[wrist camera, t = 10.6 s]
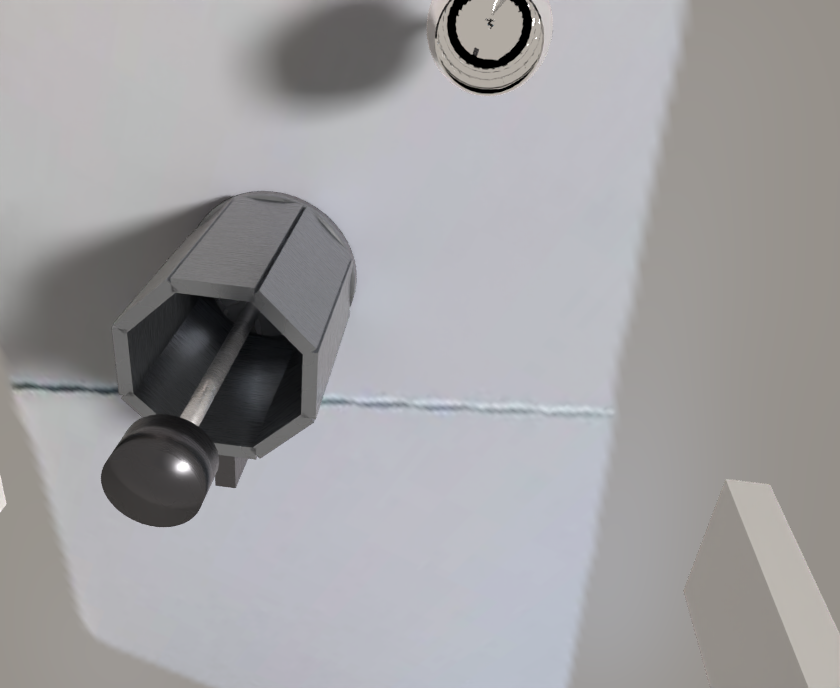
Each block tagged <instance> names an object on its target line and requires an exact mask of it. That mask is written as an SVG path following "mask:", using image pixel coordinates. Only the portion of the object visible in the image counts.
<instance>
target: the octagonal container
mask: <svg viewBox="0 0 840 688" xmlns="http://www.w3.org/2000/svg"><path fill="white" fill-rule="evenodd" d="M355 288H356V266H355V260H354V257H353V254H352V251H351V248H350V246H349V244H348V242H347V240H346V238H345V237H344V235H343V233H342V232H341V231H340V229H339V228H338V227H337V226H336V224H335V223H334V222H333V221H332V220H331V219H330V218H329V217H328V216H327V215H326V214H324V213H323V212H322V211H320V210H319V209H318V208H316V207H315V206H313V205H311V204H310V203H308V202H306V201H304V200H301V199H299V198H297V197H294V196H291V195H288V194H284V193H278V192H270V191H257V192H249V193H244V194H240V195H237V196H234V197H231V198H229V199H227V200H226V201H224V202H222V203H220V204H219V205H218V206H216V207H215V208H214V209H213V210H212V211H211V212H210V213H209V214H208V215H207V216H206V217H205V218H204V219H203V220H202V221H201V223H200V224H199V226H198V227H197V228H196V230H195V231H194V232H192V233H191V234H190V235H189V236H188V237H187V238H186V239H185V241H184V242H183V243H182V244H181V245H180V246H179V248H178V249H177V250H176V251H175V252H174V253H173V255H172V256H171V257H170V258H169V259H168V260H167V262H166V263H165V264H164V265H163V266H162V267H161V269H160V270H159V271H158V272H157V273H156V274H155V275H154V277H153V278H152V279H151V280H150V281H149V282H148V284H147V285H146V286H145V287H144V288H143V289H142V291H141V292H140V293H139V294H138V295H137V296H136V298H135V299H134V300H133V301H132V302H131V303H130V304H129V306H128V307H127V308H126V309H125V310H124V311H123V313H122V314H121V315H120V316H119V317H118V318H117V320H116V321H115V322H114V323H113V324H114V325H113V326H112V327H111V328H112V337H113V346H114V355H115V363H116V372H117V381H118V390H119V395H123V397H122V398H121V399H122V400H124V401H125V402H126V403H127V404H128V405H129V406H130V407H132V408H133V409H134V410H135V411H136V412H137V413H138V414H140V415H141V416H142V417H146V416H149V415H155V414H166V415H173V416H177V417H180V416H181V414H182V413H183V411H184V409H185V407H186V406H187V404H188V402H189V401H190V399H191V397H192V395H193V394H194V392H195V390H196V389H197V387H198V385H199V383H200V382H201V380H202V378H203V377H204V375H205V373H206V371H207V370H208V368H209V366H210V365H211V363H212V361H213V359H214V358H215V356H216V354H217V353H218V351H219V349H220V347H221V346H222V344H223V342H224V341H225V339H226V337H227V335H228V334H229V332H230V330H231V329H232V327H233V325H234V324H235V323H234V322H232V321H231V320H230V319H229V318H228V317H227V316H226V315H225V314H224V313H223V312H222V311H221V309H220V308H219V307H218V305H217V303H216V301H215V299H214V298H223V299H231V300H239V301H247V302H251V303H252V304H253V305H254V306H255V307H256V308H257V309H258V310H259V311H260V312H261V313H262V314H263V315H264V316H265V317H266V318H267V319H268V320H269V321H270V322H271V323H272V324H273V325H274V326H275V327H276V328H277V329H278V330H279V331H280V332H281V333H282V334H283V335H277V336H268V335H261V334H256V333H253V332H249V334H248V336H247V338H246V340H245V342H244V344H243V345H242V347H241V349H240V351H239V353H238V355H237V357H236V358H235V360H234V362H233V364H232V366H231V368H230V370H229V371H228V373H227V375H226V377H225V379H224V381H223V383H222V384H221V386H220V388H219V390H218V392H217V394H216V396H215V397H214V399H213V401H212V403H211V405H210V407H209V409H208V410H207V412H206V414H205V416H204V418H203V420H202V422H201V423H200V425H199V427H200V428H201V429H202V430H203V431H204V432H205V433H206V434H207V435H208V436H209V437H210V438H211V439H212V441H213V443H214V444H215V446H216V449H217V451H218V455H219V466H218V470H217V473H216V475H215V481H216V486H223V487H231V488H236V486H237V484H238V481H239V479H240V476H241V474H242V472H243V469H244V467H245V465H246V462H247V460H248V459H256V458H257V456H258V457H259V458H262V457H263V456H265V455H266V454H268V453H269V452H271V451H272V450H274V449H275V448H277V447H278V446H280V445H281V444H283V443H284V442H286V441H287V440H288V439H290V438H291V437H293V436H294V435H296V434H297V433H299V432H300V431H302V430H303V429H305V428H306V427H308V426H309V425H311V424H312V423H314V420H315V419H316V417H317V414H318V411H319V408H320V405H321V401H322V398H323V395H324V392H325V389H326V386H327V383H328V380H329V377H330V374H331V371H332V368H333V365H334V362H335V359H336V356H337V352H338V349H339V346H340V343H341V340H342V337H343V334H344V331H345V328H346V325H347V322H348V319H349V316H350V306H351V303H352V300H353V297H354V293H355Z"/></svg>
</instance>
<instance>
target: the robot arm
mask: <svg viewBox="0 0 840 688" xmlns="http://www.w3.org/2000/svg"><path fill="white" fill-rule="evenodd" d="M5 505H6V499H5V495H4V490H3V486H2V481H1V476H0V512H1V511H2V509H3V508H4V507H5ZM684 595H685V598H686V602H687V605H688V609H689V612H690V616H691V620H692V624H693V627H694V631H695V635H696V638H697V642H698V645H699V649H700V653H701V656H702V660H703V664H704V667H705V671H706V675H707V678H708V681H709V685H710V688H840V634H839V632H838V629H837V627H836V625H835V623H834V621H833V619H832V617H831V614H830V612H829V610H828V608H827V606H826V604H825V602H824V599H823V597H822V595H821V593H820V591H819V589H818V587H817V584H816V582H815V580H814V578H813V576H812V574H811V572H810V570H809V568H808V565H807V563H806V561H805V559H804V557H803V555H802V552H801V550H800V548H799V546H798V544H797V542H796V540H795V537H794V536H793V533H792V531H791V529H790V527H789V525H788V523H787V521H786V518H785V516H784V514H783V512H782V510H781V507H780V505H779V503H778V501H777V499H776V497H775V495H774V493H773V490H772V488H771V486H770V484H761V483H754V482H746V481H738V480H730V479H725V482H724V484H723V487H722V490H721V492H720V495H719V498H718V500H717V503H716V506H715V509H714V511H713V514H712V516H711V519H710V522H709V524H708V527H707V530H706V532H705V535H704V538H703V541H702V543H701V545H700V548H699V551H698V554H697V556H696V559H695V561H694V564H693V567H692V569H691V572H690V575H689V577H688V580H687V582H686V585H685V588H684Z"/></svg>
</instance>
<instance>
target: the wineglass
mask: <svg viewBox="0 0 840 688" xmlns="http://www.w3.org/2000/svg"><path fill="white" fill-rule="evenodd" d="M552 30H553V18H552V10H551V6H550V2H549V0H432V1H431V4H430V8H429V12H428V16H427V34H426V35H427V40H428V46H429V50H430V53H431V55H432V58H433V61H434V63H435V64H436V66H437V67H438V69H439V71H440V72H441V73H442V74H443V75H444V77H445V78H446V79H447V80H448V81H449V82H450V83H451V84H453V85H454V86H456V87H457V88H459V89H460V90H462V91H465V92H467V93H470V94H473V95H478V96H498V95H503V94H506V93H509V92H511V91H513V90H515V89H517V88H519V87H520V86H522V85H523V84H525V83H526V82H527V81H528V80H529V79H530V78H531V77H532V76H533V75H534V74H535V73H536V72H537V71H538V69H539V67H540V66H541V64H542V63H543V61H544V59H545V57H546V55H547V53H548V50H549V46H550V43H551V40H552Z"/></svg>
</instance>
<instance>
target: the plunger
mask: <svg viewBox="0 0 840 688" xmlns="http://www.w3.org/2000/svg"><path fill="white" fill-rule="evenodd" d="M214 299H215V301H216V303H217V305H218V307H219V308H220V309H221V311H222V312H223V313H224V314H225V315H226V316H227V317H228V318H229V319H230V320H231V321H232V322H234V323H235V324H234V325H233V327H232V329H231V330H230V332H229V334H228V335H227V337H226V339H225V341H224V342H223V344H222V346H221V347H220V349H219V351H218V353H217V354H216V356H215V358H214V359H213V361H212V363H211V365H210V366H209V368H208V370H207V371H206V373H205V375H204V377H203V378H202V380H201V382H200V383H199V385H198V387H197V389H196V390H195V392H194V394H193V395H192V397H191V399H190V401H189V402H188V404H187V406H186V407H185V409H184V411H183V413H182V414H181V416H180V417H177V416H173V415H166V414H155V415H149V416H146V417H143V418H141V419H139V420H137V421H136V422H134V423H133V424H132V425H131V426H130V427H129V429H128V430H127V431H126V433H125V434H124V436H123V437H122V439H121V440H120V442H119V443H118V445H117V446H116V448H115V449H114V451H113V452H112V454H111V455H110V457H109V458H108V460H107V461H106V463H105V465H104V467H103V470H102V474H101V483H102V487H103V490H104V492H105V494H106V496H107V498H108V499H109V501H110V502H111V503H112V504H113V505H114V507H115V508H117V509H118V510H119V511H120V512H121V513H123V514H124V515H126V516H127V517H129V518H131V519H133V520H135V521H137V522H140V523H142V524H146V525H150V526H155V527H171V526H177V525H180V524H183V523H185V522H187V521H189V520H190V519H192V518H193V517H194V516H195V515H196V514H197V512H198V511H199V509H200V507H201V505H202V503H203V501H204V499H205V496H206V494H207V492H208V490H209V488H210V486H211V484H212V481H213V479H214V477H215V475H216V473H217V470H218V466H219V455H218V451H217V449H216V446H215V444H214V443H213V441H212V439H211V438H210V437H209V436H208V435H207V434H206V433H205V432H204V431H203V430H202V429H201V428H200V427H199V425H200V423H201V422H202V420H203V418H204V416H205V414H206V412H207V410H208V409H209V407H210V405H211V403H212V401H213V399H214V397H215V396H216V394H217V392H218V390H219V388H220V386H221V384H222V383H223V381H224V379H225V377H226V375H227V373H228V371H229V370H230V368H231V366H232V364H233V362H234V360H235V358H236V357H237V355H238V353H239V351H240V349H241V347H242V345H243V344H244V342H245V340H246V338H247V336H248V334H249V332H253V333H256V334H261V335H268V336H277V335H283V334H282V333H281V332H280V331H279V330H278V329H277V328H276V327H275V326H274V325H273V324H272V323H271V322H270V321H269V320H268V319H267V318H266V317H265V316H264V315H263V314H262V313H261V312H260V311H259V310H258V309H257V308H256V307H255V306H254V305H253V304H252V303H251V302H247V301H239V300H231V299H223V298H214Z"/></svg>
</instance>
